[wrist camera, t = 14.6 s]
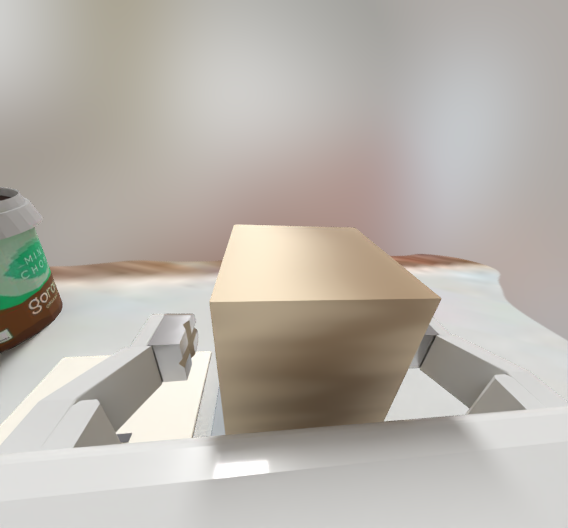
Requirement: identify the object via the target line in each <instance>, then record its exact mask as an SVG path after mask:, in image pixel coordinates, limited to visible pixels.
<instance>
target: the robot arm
mask: <svg viewBox="0 0 568 528" xmlns="http://www.w3.org/2000/svg"><path fill="white" fill-rule="evenodd" d="M195 323H196V319H195V315H194V314H152V315H150V316H149V318H148V319H147V321H146V322H145V324H144V325H143V327H142V328H141V330H140V331H139V333H138V334H137V336H136V337H135V339H134V340H133V342H132V344H131V345H130V347H124V348H122V349H121V350H119V351H117V352H116V353H114V354H113V355H111V356H110V357H108V358H106V359H105V360H103V361H102V362H100V363H99V364H97V365H95V366H94V367H92V368H91V369H89V370H87V371H86V372H84V373H83V374H81V375H80V376H78V377H76V378H75V379H73V380H72V381H70V382H69V383H67V384H65V385H64V386H62V387H61V388H59V389H57V390H56V391H54V392H53V393H51V394H50V395H48V396H46V397H45V398H43V399H42V400H40V401H39V402H38V403H37V404H36V405H35V406H34V407H33V408H32V410H31V411H30V412H29V413H28V414H27V415H26V416H25V417H24V419H23V420H22V421H21V422H20V423H19V424H18V425H17V427H16V428H15V429H14V430H13V431H12V432H11V433H10V435H9V436H8V437H7V438H6V439H5V440H4V441H3V443H2V444H1V445H0V528H568V401H567V400H565V399H564V398H563V397H562V396H560V395H559V394H558V393H557V392H555V391H554V390H553V389H552V388H551V387H549V386H548V385H547V384H546V383H544V382H543V381H542V380H541V379H540V378H538V377H537V376H536V375H535V374H533V373H532V372H531V371H529V370H527V369H525V368H522V367H520V366H518V365H516V364H514V363H512V362H510V361H508V360H506V359H504V358H502V357H500V356H498V355H496V354H494V353H492V352H490V351H488V350H486V349H484V348H482V347H480V346H478V345H476V344H474V343H471V342H469V341H467V340H465V339H463V338H461V337H459V336H457V335H452V334H451V333H450V332H449V331H448V330H447V329H446V328H444V327H443V326H442V325H441V324H440V323H439V322H438V321H437V320H436V319H435V318H434V317H433V318H432V320H431V322H430V324H429V326H428V328H427V330H426V332H425V335H424V337H423V339H422V341H421V343H420V345H419V347H418V349H417V351H416V354H415V356H414V358H413V360H412V362H411V364H410V366H409V368H420V370H421V371H423V372H424V373H425V374H426V375H428V376H429V377H430V378H432V379H433V380H434V381H435V382H437V383H438V384H439V385H440V386H442V387H443V388H444V389H445V390H447V391H448V392H449V393H451V394H452V395H453V396H454V397H456V398H457V399H458V400H459V401H461V402H462V403H463V404H465V405H466V406H467V407H468V408H470V409H469V410H468V412H467V413H466V414H465V415H456V416H445V417H433V418H421V419H409V420H397V421H386V422H374V423H362V424H350V425H338V426H326V427H314V428H302V429H290V430H278V431H266V432H255V433H243V434H231V435H219V436H207V437H195V438H183V439H172V440H160V441H148V442H136V443H124V444H121V442H120V440H119V438H118V436H117V434H116V432H117V431H118V430H119V429H120V428H121V427H122V426H123V424H124V423H125V422H126V421H127V420H128V419H129V418H130V417H131V416H132V415H133V414H134V413H135V412H136V411H137V410H138V409H139V408H140V407H141V406H142V405H143V404H144V403H145V401H146V400H147V399H148V398H149V397H150V396H151V395H152V394H153V393H154V392H155V391H156V390H157V389H158V388H159V387H160V386H161V385H162V382H173V381H185V380H187V379H188V376H189V373H190V370H191V367H192V360H191V358H192V357H193V356H194V355H195V354H196V350H197V345H198V331H197V329H195V328H194V326H195Z"/></svg>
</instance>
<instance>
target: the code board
mask: <svg viewBox="0 0 568 528" xmlns="http://www.w3.org/2000/svg"><path fill="white" fill-rule="evenodd" d="M110 356H111V355H107V356H83V357H64V358H63V359H62V360H61V361H60V362H59V363H58V364H57V365H56V366H55V367H54V368H53V369H52V370H51V371H50V373H49V374H48V375H47V376H46V377H45V378H44V379H43V380H42V381H41V382H40V383H39V384H38V385H37V386H36V388H35V389H34V390H33V391H32V392H31V393H30V394H29V395H28V396H27V397H26V398H25V399H24V400H23V401H22V403H21V404H20V405H19V406H18V407H17V408H16V409H15V410H14V411H13V412H12V413H11V414H10V415H9V416H8V418H7V419H6V420H5V421H4V422H3V423H2V424H1V425H0V445H1V444H2V443H3V441H4V440H5V439H6V438H7V437H8V436H9V435H10V433H11V432H12V431H13V430H14V429H15V428H16V427H17V425H18V424H19V423H20V422H21V421H22V420H23V419H24V417H25V416H26V415H27V414H28V413H29V412H30V411H31V410H32V408H33V407H34V406H35V405H36V404H37V403H38V402H39V401H40V400H42V399H43V398H45V397H46V396H48V395H50V394H51V393H53V392H54V391H56V390H57V389H59V388H61V387H62V386H64V385H65V384H67V383H69V382H70V381H72V380H73V379H75V378H76V377H78V376H80V375H81V374H83V373H84V372H86V371H87V370H89V369H91V368H92V367H94V366H95V365H97V364H99V363H100V362H102V361H103V360H105V359H106V358H108V357H110ZM210 358H211V351H202V352H196V354H195V355H194V356H193V357H192V358H191V360H192V367H191V370H190V373H189V376H188V379H187V380H185V381H173V382H162V385H161V386H160V387H159V388H158V389H157V390H156V391H155V392H154V393H153V394H152V395H151V396H150V397H149V398H148V399H147V400H146V401H145V403H144V404H143V405H142V406H141V407H140V408H139V409H138V410H137V411H136V412H135V413H134V414H133V415H132V416H131V417H130V418H129V419H128V420H127V421H126V422H125V423H124V424H123V426H122V427H121V428H120V429H119V430H118V431H117V432H116V434H117V436H118V438H119V440H120V442H121V444H124V443H136V442H148V441H160V440H172V439H183V438H192V436H193V432H194V428H195V423H196V419H197V414H198V410H199V406H200V401H201V397H202V393H203V388H204V384H205V379H206V375H207V371H208V366H209V362H210ZM219 435H225V428H224V419H223V411H222V403H221V394H220V386H219V389H218V395H217V402H216V408H215V414H214V420H213V426H212V432H211V436H219Z"/></svg>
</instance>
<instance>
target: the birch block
mask: <svg viewBox="0 0 568 528" xmlns="http://www.w3.org/2000/svg"><path fill="white" fill-rule="evenodd" d="M440 301H441V298H440V297H439V296H438V295H437V294H435V293H434V292H433V291H432V290H431V289H429V288H428V287H427V286H426V285H424V284H423V283H422V282H421V281H420V280H418V279H417V278H416V277H415V276H413V275H412V274H411V273H410V272H409V271H407V270H406V269H405V268H404V267H402V266H401V265H400V264H399V263H397V262H396V261H395V260H394V259H393V258H391V257H390V256H389V255H387V254H386V253H385V252H384V251H383V250H382V249H380V248H379V247H378V246H377V245H375V244H374V243H373V242H372V241H371V240H369V239H368V238H367V237H366V236H364V235H363V234H362V233H361V232H359V231H358V230H357V229H356V228H348V227H306V226H264V225H234V227H233V230H232V233H231V236H230V240H229V243H228V246H227V249H226V252H225V255H224V258H223V261H222V264H221V268H220V271H219V274H218V277H217V280H216V283H215V286H214V289H213V293H212V296H211V299H210V311H211V319H212V327H213V336H214V344H215V352H216V361H217V369H218V378H219V386H220V394H221V403H222V411H223V419H224V428H225V435H231V434H243V433H255V432H266V431H278V430H290V429H302V428H314V427H326V426H338V425H350V424H362V423H374V422H384V419H385V417H386V415H387V413H388V411H389V409H390V407H391V405H392V402H393V400H394V398H395V396H396V394H397V392H398V390H399V388H400V385H401V383H402V381H403V379H404V377H405V375H406V373H407V371H408V368H409V366H410V364H411V362H412V360H413V358H414V356H415V354H416V351H417V349H418V347H419V345H420V343H421V341H422V339H423V337H424V335H425V332H426V330H427V328H428V326H429V324H430V322H431V320H432V318H433V315H434V313H435V311H436V309H437V307H438V305H439V303H440Z"/></svg>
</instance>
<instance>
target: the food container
mask: <svg viewBox="0 0 568 528" xmlns="http://www.w3.org/2000/svg"><path fill="white" fill-rule="evenodd" d="M42 219H43V218H42V216H41V215H40V214H39V212H38V211H37V210H36V209H35V207H34V206H33V205H32V203H31V202H30V201H29V200H28V199H27V198H24V197H22V196H21V194H20V192H19V191H18V190H15V189H11V188H4V187H0V353H1V352H4V351H6V350H8V349H11V348H13V347H15V346H16V345H18V344H20V343H21V342H23V341H25V340H27V339H28V338H30V337H32V336H34V335H35V334H37V333H39V332H40V331H41V330H42V329H44V328H45V327H46V326H47V325H49V324H50V323H51V322H53V321H54V320H55V318H56V317H57V316H58V315H59V313H60V312H61V310H62V301H61V298H60V295H59V293H58V290H57V287H56V285H55V282H54V279H53V276H52V274H51V271H50V268H49V265H48V263H47V260H46V257H45V255H44V252H43V249H42V247H41V244H40V241H39V238H38V236H37V233H36V230H35V226H37V225H39V224H40V223H41V222H42Z"/></svg>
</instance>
